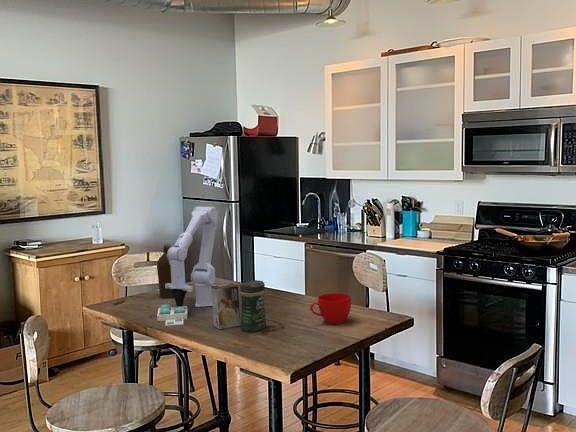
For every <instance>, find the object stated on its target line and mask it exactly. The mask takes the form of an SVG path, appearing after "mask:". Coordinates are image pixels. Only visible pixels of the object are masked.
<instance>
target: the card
mask: <svg viewBox="0 0 576 432" xmlns="http://www.w3.org/2000/svg"><path fill="white" fill-rule="evenodd" d="M181 325H183V326H184V319H175V320H166V321H165V325H164V326H165V327H169V326H181Z"/></svg>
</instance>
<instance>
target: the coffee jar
mask: <svg viewBox="0 0 576 432" xmlns="http://www.w3.org/2000/svg"><path fill="white" fill-rule="evenodd" d="M239 292H240V294H239V295H240V298H241V315H240V324H241V325H240V328H241V330H243V331H244V332H248V333H249V332H253V333H254V332H258V331H261V330H263V329H265V328H266V327H267V318H266V317H267V316H266V310H265V309H266V308H265V293H266V286H265V283H264V281H263V280H257V279H254V280H250V281H247V282H243V283H241V285H240V288H239Z"/></svg>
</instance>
